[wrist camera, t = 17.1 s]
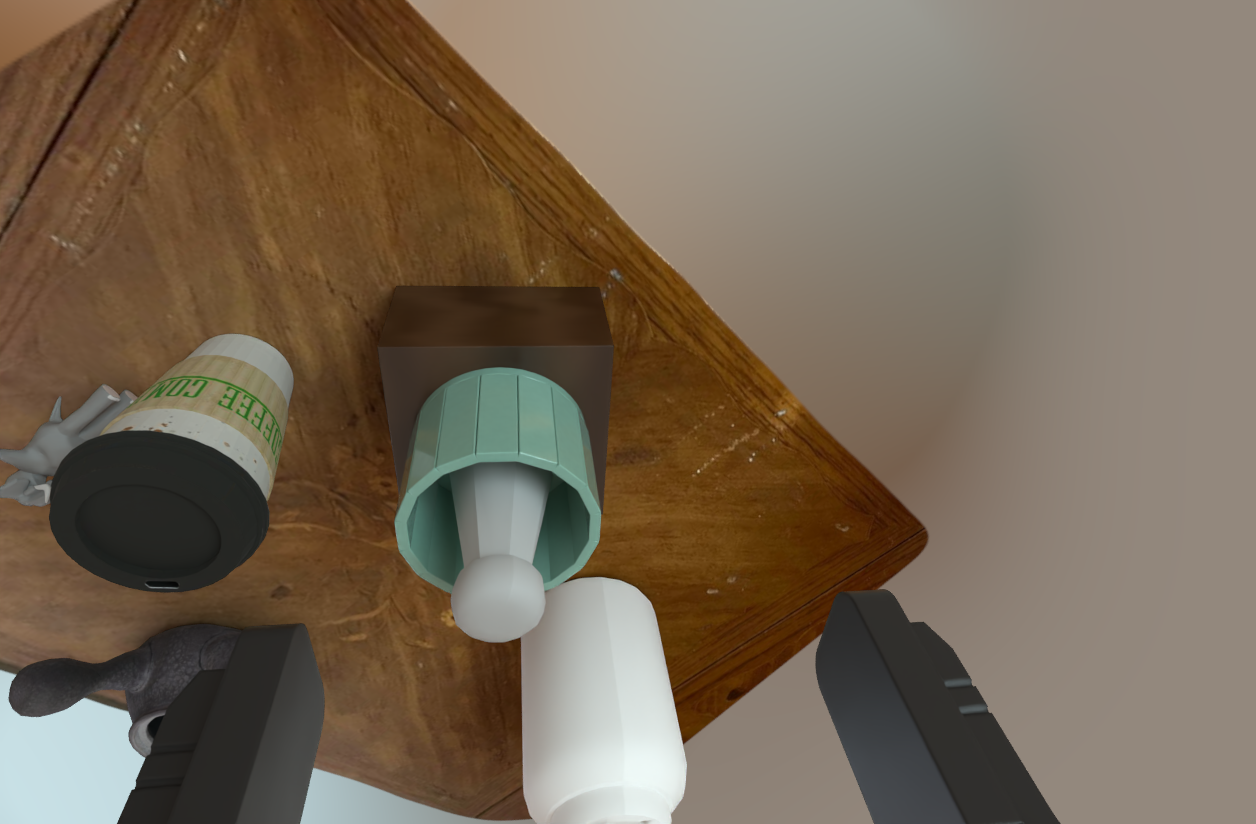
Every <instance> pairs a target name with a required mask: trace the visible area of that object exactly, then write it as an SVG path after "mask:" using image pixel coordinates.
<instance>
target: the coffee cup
mask: <svg viewBox="0 0 1256 824" xmlns="http://www.w3.org/2000/svg"><path fill="white" fill-rule="evenodd" d="M293 383H294V378H293V373H292V370H291V368H290V366H289V364H288V362H287V361H286V359H285V358H284V356H283V355H282V354H280V353H279V352H278V351H277V350H276V349H275V348H274V347H272V346H271V345H269V344H268V343H266V342H264V341H262V340H260V339H257V338H254V337H251V336H247V335H241V334H225V335H219V336H216V337H213V338H210V339H209V340H207V341H205V342H204V343H202V344H201V345H200V346H199V347H198V348H197V349H196V350H195V351H194V352H193V353H191V354H190V355H189V356H188V357H187V358H186V359H185V360H183V361H181V362H179V363H178V364H176V365H175V366H173V367H172V368H171V369H170V370H169V371H167V372H166V373H165V374H164V375H163V376H162V377H161V378H160V379H158V380H157V381H156V382H155V383H154V384H153V385H152V386H151V387H149V388H148V389H147V390H146V391H145V392H144V393H143V394H142V395H140V396H139V397H138V398H137V399H136V400H135V401H134V402H133V403H131V404H130V405H129V406H128V407H127V408H126V409H125V410H124V411H122V412H121V413H120V414H119V415H118V416H117V417H116V418H115V419H113V420H112V421H111V422H110V423H109V424H108V425H107V426H106V427H105V428H104V429H103V431H102V432H101V434H100V436H98V437H95V438H92V439H89V440H87V441H85V442H83V443H82V444H80V445H79V446H77V447H75V448H74V449H72V450H71V451H70V452H69V453H68V454H67V455H66V456H65V458H64V459H63V460H62V461H61V463H60V465H59V467H58V469H57V471H56V473H55V475H54V478H53V480H52V483H51V491H50V503H51V507H50V514H49V520H50V525H51V530H52V532H53V534H54V536H55V538H56V540H57V542H58V544H59V545H60V546H61V547H62V549H63V550H64V551H65V552H66V554H67V555H68V556H70V557H71V558H72V559H73V560H74V561H75V562H77V563H78V564H79V565H80V566H82V567H83V568H85V569H87V570H88V571H90V572H91V573H93V574H95V575H97V576H99V577H101V578H103V579H106V580H108V581H110V582H113V583H116V584H119V585H122V586H125V587H128V588H133V589H138V590H143V591H151V592H164V593H165V592H184V591H189V590H195V589H199V588H202V587H205V586H208V585H211V584H214V583H215V582H217V581H219V580H221V579H223V578H224V577H226V576H227V575H228V574H229V573H230V572H231V571H233V570H234V569H235V568H237V567H238V566H240V565H241V564H243V563H244V562H245V561H246V560H247V559H248V558H250V557H251V556H252V555H253V554H254V552H255V551H256V550H257V548H258V547H259V545H260V544H261V543H262V541H263V540H264V538H265V536H266V533H267V530H268V527H269V509H268V505H267V501H268V499H269V497H270V494H271V491H272V488H273V483H274V479H275V474H276V470H277V465H278V461H279V456H280V452H281V447H282V443H283V439H284V434H285V430H286V425H287V421H288V407H289V403H290V398H291V394H292V390H293Z"/></svg>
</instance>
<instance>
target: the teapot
mask: <svg viewBox="0 0 1256 824" xmlns="http://www.w3.org/2000/svg"><path fill="white" fill-rule="evenodd" d="M241 631H242V630H239V629H236V628H229V627H223V626H218V625H211V624H196V625H186V626H180V627H176V628H173V629H170V630H167V631H164V632H162V633H160V634H158V635H156V636H154V637H152V638H150V639H149V640H147V641H146V642H145V643H144V644H143V645H142V646H141V647H140V648H138V649H136V650H133V651H130V652H127V653H124V654H122V655H120V656H117V657H115V658H113V659H111V660H108V661H106V662H103V663H95V664H92V663H87V662H82V661H78V660H74V659H70V658H58V659H48V660H44V661H40V662H36V663H33V664H31V665H28V666H26V667H25V668H23V669H22V670H21V671H19V673H18V674H17V675H16V677H15V678H14V680H13V681H12V684H11V687H10V692H9V702H10V704H11V706H12V708H13V710H15V711H16V712H17V713H18V714H20V715H21V716H29V717H41V716H45V715H50V714H53V713H56V712H59V711H62V710H65V709H67V708H69V707H71V706H72V705H74V704H75V703H77V702H78V701H80V700H81V699H83V698H84V697H86V696H87V695H89V694H91V693H93V692H96V691H99V690H111V689H113V690H125V694H126V700H127V706H128V710H129V714H130V717H131V720H132V723H133V724H132V726H131V728H130V730H129V741H130V743H131V745H132V747H133V748H134V749H135V750H136V751H137V752H138V753H139V754H140V755H142V756H143V757H145V758H146V756H147V755H149V754H150V752H151V745H152V742H153V740H154V738H155V736H156V733H157V731H158V729H159V726H160V724H161V722H162V720H163V717H164V715H165V713H166V710H167V708H168V706H169V705H170V704H171V703H172V701H173V700H174V699H175V698H176V697H177V696H178V695H179V694H180V692H181V691H182V690H183V689H184V688H185V687H186V686H187V685H188V683H189V682H190V681H191V680H192V679H193V678H194V677H195V675H196V674H197V673H198V672H199V671H200V670H212V669H226V667H227V664H228V662H229V659H230V656H231V654H232V651H233V648H234V646H235V643H236V641H237V638H238V636H239V634H240V633H241Z"/></svg>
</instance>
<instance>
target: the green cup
mask: <svg viewBox="0 0 1256 824" xmlns="http://www.w3.org/2000/svg"><path fill="white" fill-rule="evenodd" d="M513 461H517V462H521V463H524V464H528V465H531V466H534V467H538V468H541V469H545V470H548V471H552V475H553V477H552V481H551V485H550V490H549V494H548V498H547V503H546V507H545V511H544V516H543V520H542V524H541V529H540V533H539V537H538V542H537V546H536V550H535V555H534V559H533V563H532V565H533V566H534V567H535V568H536V569H537V570H538V571H539V572H540V574H541V576H542V578H543V584H544V591H546V590H549V589H552V588H555V587H556V586H559V585H560V584H561V583H563V582H564V581H565V580H567V579H568V578H570V577H571V576H572V575H574V574H575V573H576V572H578V571H579V570H580V569H582V568H583V567H584V566H585V564H586V562H587V561H588V559H589V557H590V556H591V554H592V553H593V551H594V549H595V548H596V546H597V544H598V543H599V540H600V525H601V509H600V503H599V496H598V490H597V483H596V477H595V470H594V464H593V457H592V451H591V444H590V438H589V432H588V430H587V427H586V423H585V419H584V417H583V414H582V412H581V410H580V408H579V406H578V405H577V403H576V402H575V401H574V399H573V398H572V397H571V396H570V395H569V394H568V393H567V392H566V391H565V390H564V389H563V388H562V387H560V386H559V385H557V384H556V383H555V382H553V381H551V380H549V379H548V378H546V377H544V376H541V375H539V374H536V373H533V372H530V371H526V370H522V369H516V368H505V367H495V368H484V369H479V370H474V371H471V372H467V373H464V374H462V375H460V376H457V377H455V378H453V379H451V380H449V381H448V382H446V383H444V384H443V385H442V386H440V387H439V388H438V389H437V390H435V391H434V392H433V393H432V394H431V395H430V396H429V397H428V398H427V400H426V401H425V403H424V404H423V406H422V407H421V409H420V411H419V413H418V415H417V418H416V421H415V424H414V429H413V431H412V434H411V437H410V443H409V448H408V453H407V458H406V463H405V468H404V473H403V479H402V484H401V489H400V494H399V499H398V504H397V510H396V515H395V521H394V524H395V531H396V537H397V543H398V549H399V550H400V553H401V554H402V556H403V557H404V558H405V560H406V561H407V562H408V563H409V565H410V566H411V567H412V569H413V570H414V571H415V572H416V574H417V575H419V576H420V577H421V578H423V579H424V580H426V581H428V582H430V583H431V584H433V585H435V586H437V587H439V588H440V589H442V590H444V591H446V592H449V591H450V594H452V589H453V587H454V584H455V582H456V580H457V577H458V575H459V573H460V571H461V570H462V569H464V563H463V557H462V550H461V544H460V538H459V532H458V525H457V519H456V513H455V507H454V500H453V494H452V488H451V481H450V475H449V473H450V472H453V471H456V470H459V469H461V468H464V467H467V466H470V465H473V464H475V463H480V462H513Z"/></svg>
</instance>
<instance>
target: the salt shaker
mask: <svg viewBox="0 0 1256 824" xmlns="http://www.w3.org/2000/svg"><path fill="white" fill-rule="evenodd" d="M449 475H450V481H451V488H452V494H453V500H454V507H455V513H456V519H457V525H458V532H459V538H460V544H461V550H462V557H463V563H464V569H462V570H461V571H460V573H459V575H458V577H457V580H456V582H455V584H454V587H453V589H452V595H451V606H452V612H453V616H454V619H455V622H456V625H457V626H458V627H459V628H461V629H462V630H463V631H464V632H465V633H466V634H467V635H469V636H471V637H472V638H476V639H479V640H482V641H485V642H507V641H510V640H513V639H517V638H520V637H522V636H523V635H525V634H526V633H528V632H529V631H530V630H532V629H533V628H535V627H536V626H538V624H539V622H540V620H541V618H542V616H543V614H544V610H545V604H546V599H545V591H544V584H543V578H542V576H541V574H540V572H539V571H538V570H537V569H536V568H535V567H534V566H533V565H532V563H533V559H534V555H535V550H536V546H537V542H538V537H539V533H540V529H541V524H542V520H543V516H544V511H545V507H546V503H547V498H548V494H549V490H550V485H551V481H552V477H553V475H552V471H548V470H545V469H541V468H538V467H534V466H531V465H528V464H524V463H521V462H517V461H513V462H480V463H475V464H473V465H470V466H467V467H464V468H461V469H459V470H456V471H453V472H450V473H449Z"/></svg>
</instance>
